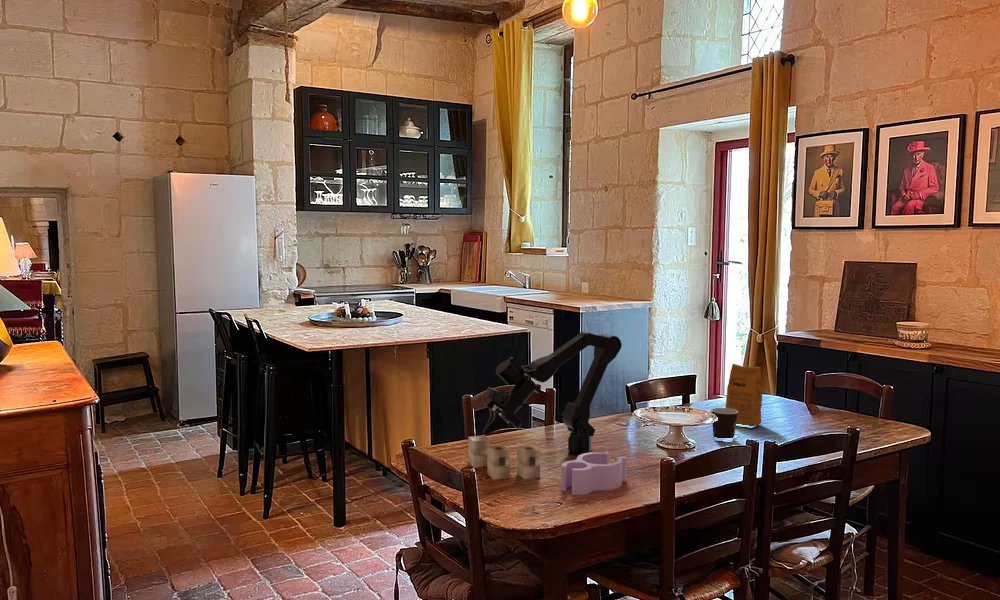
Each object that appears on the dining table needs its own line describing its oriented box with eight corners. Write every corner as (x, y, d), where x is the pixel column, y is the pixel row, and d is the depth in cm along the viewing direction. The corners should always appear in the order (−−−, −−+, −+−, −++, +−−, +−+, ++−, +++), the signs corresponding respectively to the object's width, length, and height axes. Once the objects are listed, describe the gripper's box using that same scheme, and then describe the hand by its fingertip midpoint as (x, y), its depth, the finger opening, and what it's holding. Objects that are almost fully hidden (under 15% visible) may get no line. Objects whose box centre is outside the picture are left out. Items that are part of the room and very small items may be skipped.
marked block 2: (533, 472, 216) (533, 444, 215) (540, 477, 211) (540, 449, 210) (517, 474, 214) (517, 446, 213) (524, 479, 209) (524, 451, 208)
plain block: (484, 461, 226) (484, 435, 225) (489, 465, 221) (489, 439, 220) (468, 462, 224) (468, 436, 223) (473, 467, 219) (473, 441, 219)
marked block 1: (503, 472, 215) (504, 444, 215) (510, 477, 211) (510, 449, 210) (487, 474, 214) (487, 446, 213) (493, 479, 209) (493, 451, 208)
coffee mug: (727, 445, 244) (728, 415, 243) (705, 439, 251) (706, 410, 250) (746, 438, 252) (747, 409, 251) (724, 433, 258) (725, 405, 257)
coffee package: (733, 419, 278) (735, 361, 276) (765, 425, 269) (767, 365, 267) (720, 424, 271) (722, 364, 269) (752, 430, 262) (754, 369, 260)
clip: (584, 499, 194) (584, 473, 193) (550, 487, 203) (551, 462, 203) (633, 483, 207) (634, 459, 206) (600, 472, 216) (600, 448, 216)
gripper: (490, 372, 231) (456, 409, 228) (512, 383, 214) (476, 424, 211) (513, 395, 235) (480, 432, 232) (537, 408, 218) (501, 448, 215)
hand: (483, 434), depth 222 cm, fingers closed
